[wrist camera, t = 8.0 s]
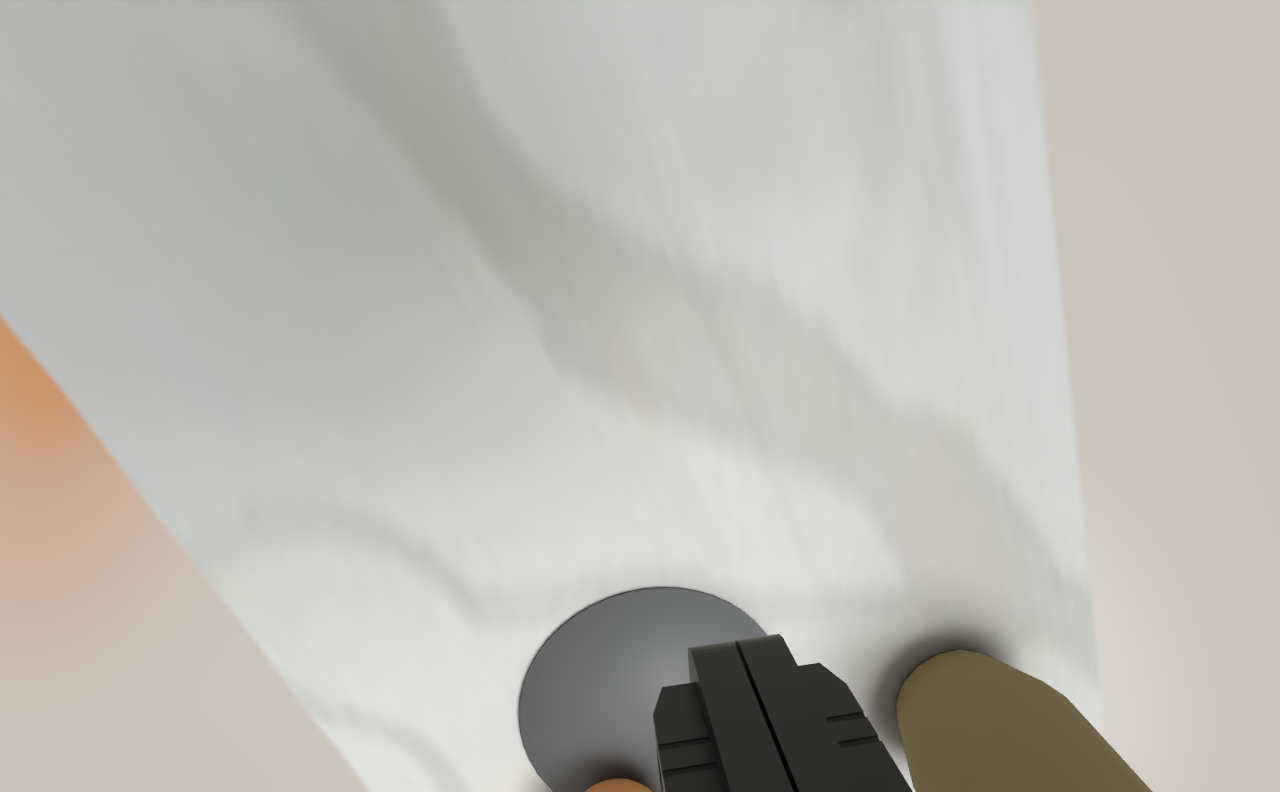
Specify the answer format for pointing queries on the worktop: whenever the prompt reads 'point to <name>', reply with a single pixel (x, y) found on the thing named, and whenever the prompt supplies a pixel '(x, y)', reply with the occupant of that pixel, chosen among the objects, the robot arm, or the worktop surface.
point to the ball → (618, 786)
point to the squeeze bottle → (1000, 732)
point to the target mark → (616, 683)
